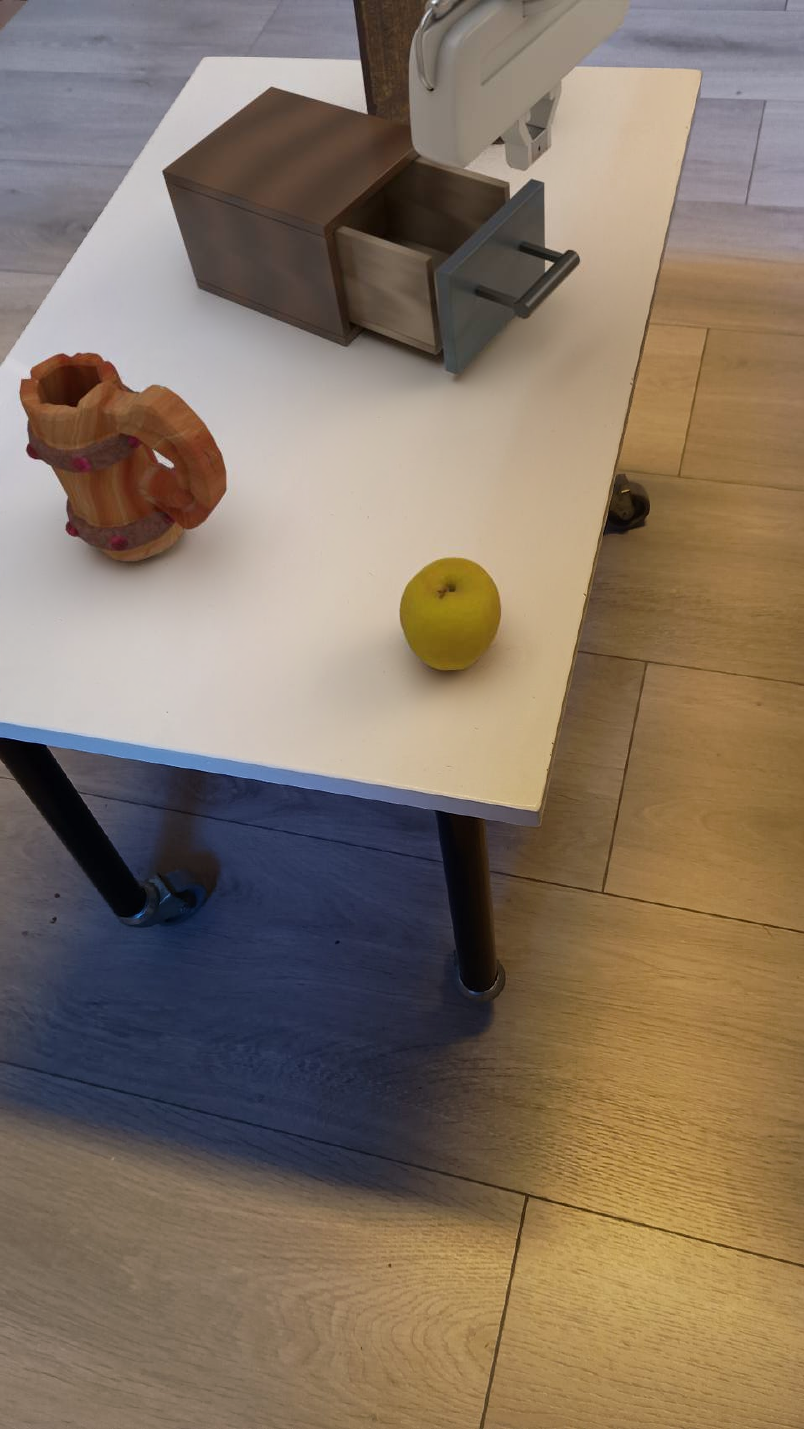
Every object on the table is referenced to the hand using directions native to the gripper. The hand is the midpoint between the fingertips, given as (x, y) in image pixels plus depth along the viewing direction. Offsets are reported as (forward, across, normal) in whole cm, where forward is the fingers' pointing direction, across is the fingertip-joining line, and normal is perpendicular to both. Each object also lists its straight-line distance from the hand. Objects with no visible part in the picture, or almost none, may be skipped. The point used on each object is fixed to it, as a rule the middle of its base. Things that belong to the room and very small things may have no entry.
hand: (528, 158), depth 75 cm
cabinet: (+15, -1, +22) cm, 27 cm away
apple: (+16, -28, -12) cm, 34 cm away
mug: (+15, -31, +12) cm, 37 cm away
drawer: (+15, -1, +8) cm, 17 cm away
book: (+16, +22, +23) cm, 36 cm away
